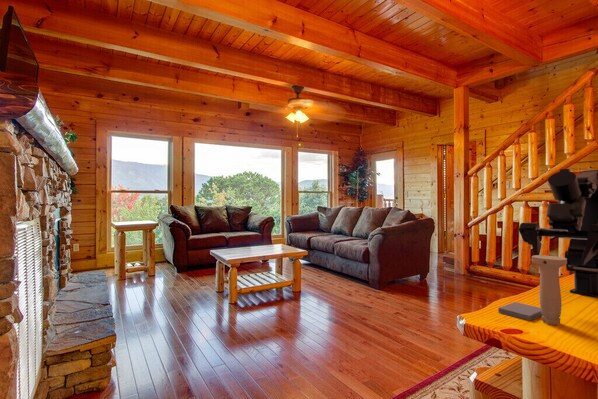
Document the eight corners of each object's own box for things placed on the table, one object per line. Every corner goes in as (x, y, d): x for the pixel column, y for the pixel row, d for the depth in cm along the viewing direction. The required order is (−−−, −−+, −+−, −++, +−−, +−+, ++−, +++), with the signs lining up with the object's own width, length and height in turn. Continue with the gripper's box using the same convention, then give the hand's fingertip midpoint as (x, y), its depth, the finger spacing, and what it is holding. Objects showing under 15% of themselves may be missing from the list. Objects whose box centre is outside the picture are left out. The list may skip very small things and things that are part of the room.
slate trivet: (515, 306, 86) (515, 301, 86) (545, 313, 80) (545, 309, 80) (498, 312, 82) (498, 307, 82) (529, 320, 76) (529, 315, 76)
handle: (564, 329, 71) (562, 260, 71) (530, 321, 76) (528, 257, 76) (572, 324, 73) (570, 257, 73) (538, 316, 79) (536, 254, 79)
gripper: (519, 193, 90) (505, 237, 83) (612, 190, 75) (604, 243, 69) (530, 220, 95) (517, 263, 88) (619, 222, 80) (613, 274, 73)
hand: (558, 260), depth 79 cm, fingers open, 9 cm apart
